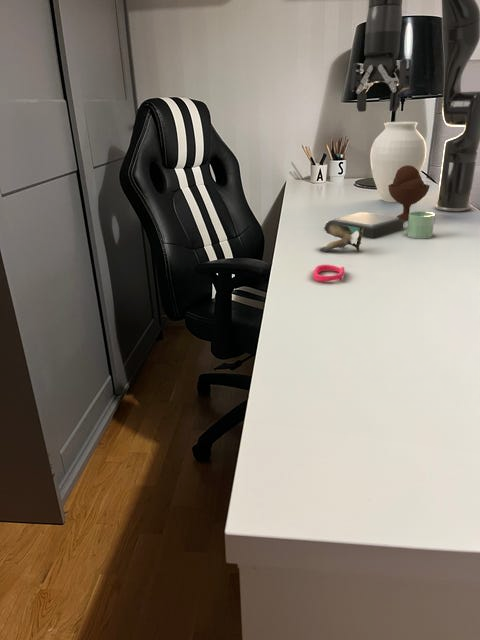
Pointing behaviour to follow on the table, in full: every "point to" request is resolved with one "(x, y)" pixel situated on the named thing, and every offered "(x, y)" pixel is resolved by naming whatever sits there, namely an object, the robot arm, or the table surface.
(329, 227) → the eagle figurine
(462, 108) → the robot arm
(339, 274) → the fitness band
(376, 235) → the scale
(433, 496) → the table surface
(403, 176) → the ice cream bowl
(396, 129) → the vase
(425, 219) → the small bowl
